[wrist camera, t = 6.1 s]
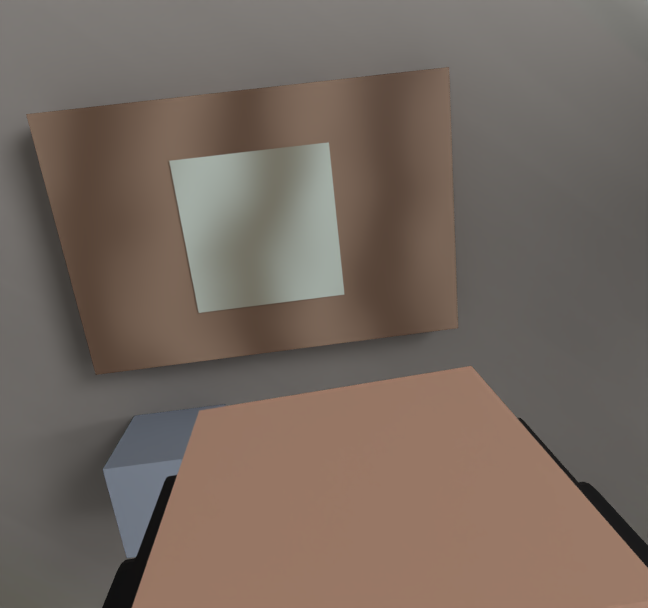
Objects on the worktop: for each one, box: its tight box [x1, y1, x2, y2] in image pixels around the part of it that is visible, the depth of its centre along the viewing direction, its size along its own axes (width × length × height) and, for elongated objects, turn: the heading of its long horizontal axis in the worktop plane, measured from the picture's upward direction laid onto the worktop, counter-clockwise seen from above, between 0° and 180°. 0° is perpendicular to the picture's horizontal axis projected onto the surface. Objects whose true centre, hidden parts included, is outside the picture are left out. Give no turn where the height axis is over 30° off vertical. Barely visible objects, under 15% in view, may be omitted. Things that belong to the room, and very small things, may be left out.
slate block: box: [103, 404, 226, 558], centre depth 26 cm, size 5×5×5 cm
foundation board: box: [26, 67, 458, 375], centre depth 24 cm, size 18×12×2 cm, turn 96°
